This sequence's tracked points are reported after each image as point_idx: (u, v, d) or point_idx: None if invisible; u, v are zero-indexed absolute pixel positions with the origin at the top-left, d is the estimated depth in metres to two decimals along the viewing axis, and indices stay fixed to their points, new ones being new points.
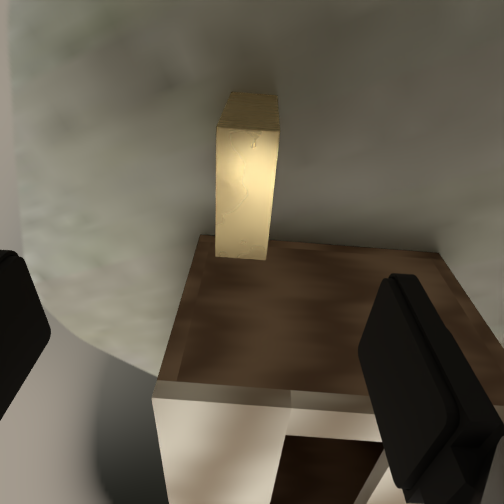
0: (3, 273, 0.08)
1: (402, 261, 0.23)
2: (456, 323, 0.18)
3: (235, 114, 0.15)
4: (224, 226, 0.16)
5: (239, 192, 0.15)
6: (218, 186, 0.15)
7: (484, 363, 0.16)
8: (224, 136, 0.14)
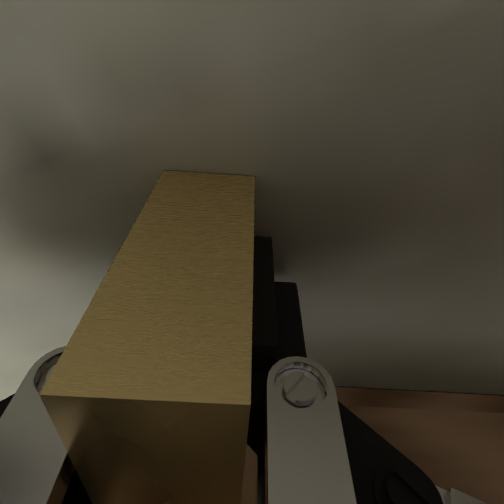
0: None
1: (474, 425, 0.14)
2: None
3: (137, 282, 0.06)
4: None
5: (150, 494, 0.06)
6: (91, 486, 0.05)
7: None
8: (73, 412, 0.04)
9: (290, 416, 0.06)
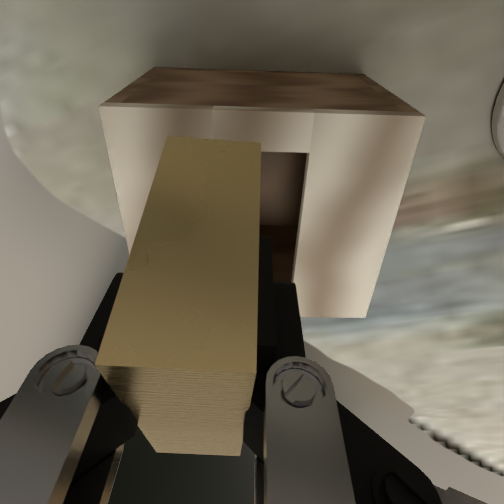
0: None
1: (330, 76, 0.26)
2: (364, 91, 0.22)
3: None
4: (146, 274, 0.06)
5: (192, 209, 0.07)
6: (152, 200, 0.08)
7: (379, 101, 0.20)
8: (177, 144, 0.09)
9: (289, 416, 0.06)
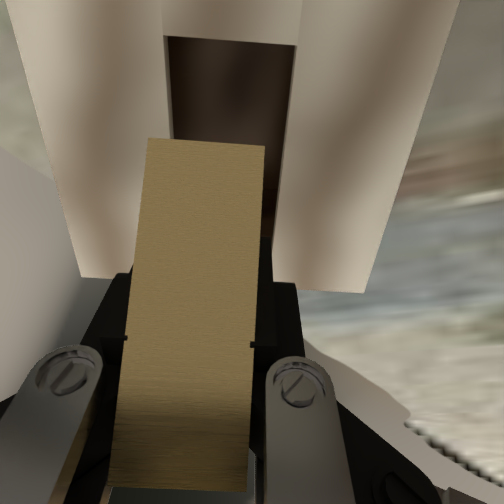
0: None
1: None
2: None
3: None
4: None
5: None
6: None
7: None
8: None
9: (289, 416, 0.06)
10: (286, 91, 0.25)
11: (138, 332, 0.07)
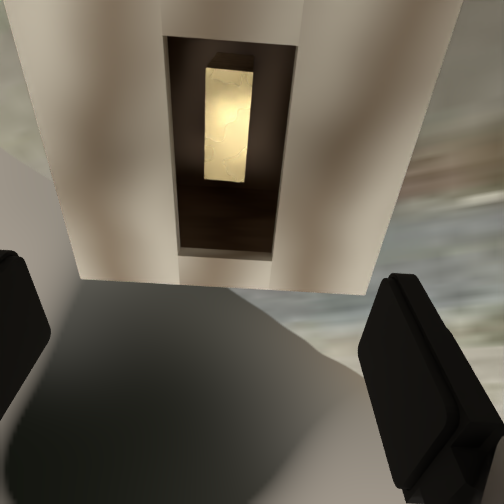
0: (3, 273, 0.08)
1: None
2: None
3: None
4: None
5: None
6: None
7: None
8: None
9: None
10: (287, 91, 0.25)
11: (215, 60, 0.20)
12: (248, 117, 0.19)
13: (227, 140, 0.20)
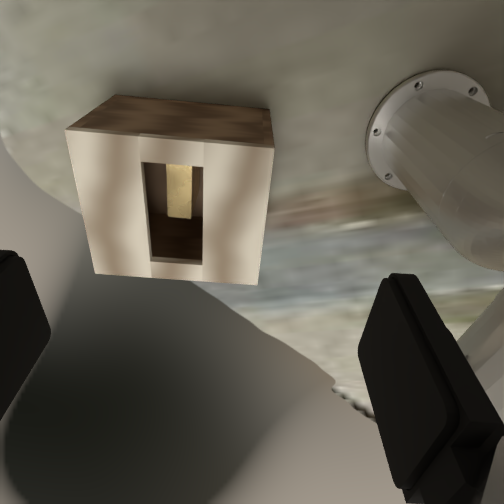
0: (3, 273, 0.08)
1: (242, 110, 0.36)
2: (253, 126, 0.32)
3: None
4: None
5: None
6: None
7: (256, 135, 0.30)
8: None
9: None
10: None
11: None
12: (191, 185, 0.35)
13: (180, 196, 0.35)
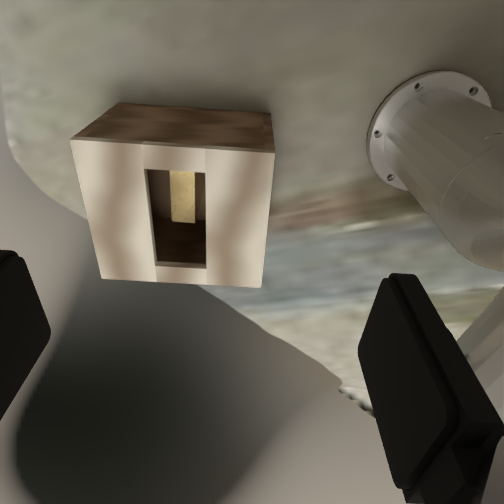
0: (3, 273, 0.08)
1: (243, 114, 0.37)
2: (254, 131, 0.32)
3: None
4: None
5: None
6: None
7: (257, 140, 0.30)
8: None
9: None
10: None
11: None
12: (194, 190, 0.35)
13: (183, 201, 0.36)
